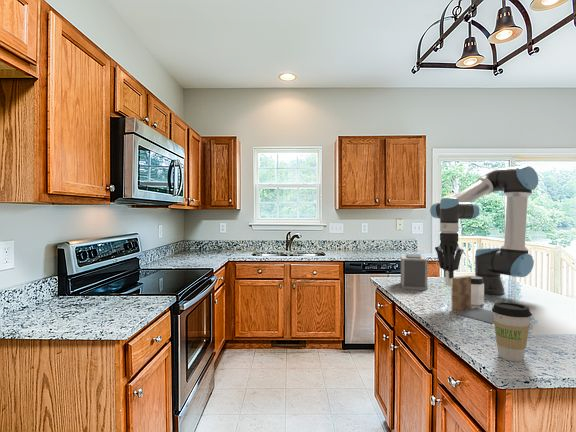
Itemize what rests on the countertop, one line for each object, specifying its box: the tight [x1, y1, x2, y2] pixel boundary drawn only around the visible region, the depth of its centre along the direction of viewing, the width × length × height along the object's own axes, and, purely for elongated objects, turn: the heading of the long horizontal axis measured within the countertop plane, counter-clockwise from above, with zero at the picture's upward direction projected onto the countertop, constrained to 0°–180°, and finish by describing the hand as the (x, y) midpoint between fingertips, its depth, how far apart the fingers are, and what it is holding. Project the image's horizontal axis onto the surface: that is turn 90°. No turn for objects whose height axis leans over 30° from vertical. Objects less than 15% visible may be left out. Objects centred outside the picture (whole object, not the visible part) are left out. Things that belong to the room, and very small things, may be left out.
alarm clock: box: [400, 253, 429, 291], centre depth 201 cm, size 18×13×18 cm
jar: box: [469, 275, 485, 306], centre depth 164 cm, size 9×8×12 cm
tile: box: [450, 275, 472, 312], centre depth 153 cm, size 10×2×14 cm, turn 121°
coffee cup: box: [491, 301, 533, 363], centre depth 103 cm, size 10×10×15 cm
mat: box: [453, 307, 494, 325], centre depth 144 cm, size 16×16×1 cm
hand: (448, 285), depth 158 cm, fingers closed
